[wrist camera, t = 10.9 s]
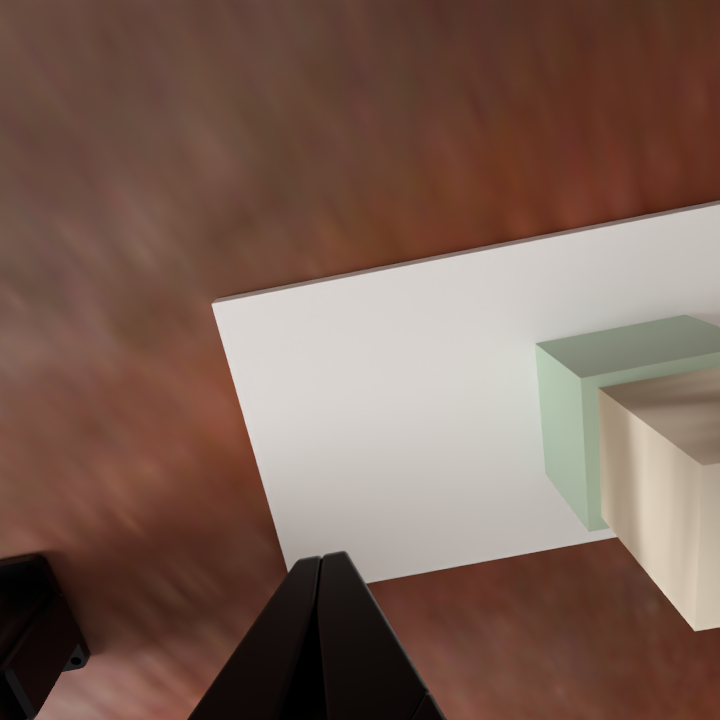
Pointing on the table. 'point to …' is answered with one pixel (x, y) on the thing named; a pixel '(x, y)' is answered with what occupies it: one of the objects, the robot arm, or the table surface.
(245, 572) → the table surface
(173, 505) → the table surface
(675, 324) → the green block
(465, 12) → the table surface
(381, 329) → the pale grey board
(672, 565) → the cream block
